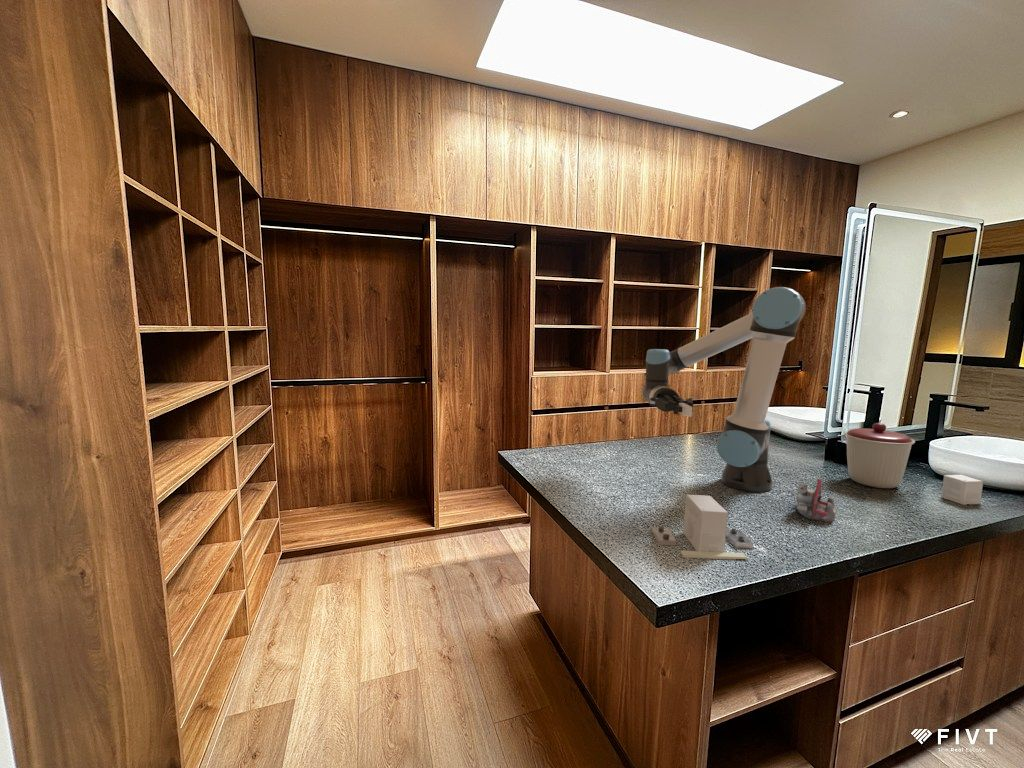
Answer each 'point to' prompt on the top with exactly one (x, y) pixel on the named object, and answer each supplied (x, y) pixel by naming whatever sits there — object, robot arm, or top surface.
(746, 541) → the block
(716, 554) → the cream long thin bar
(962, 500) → the skincare box
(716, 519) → the skincare box
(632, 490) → the top surface
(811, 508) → the grey red lumpy piece
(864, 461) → the canister
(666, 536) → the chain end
